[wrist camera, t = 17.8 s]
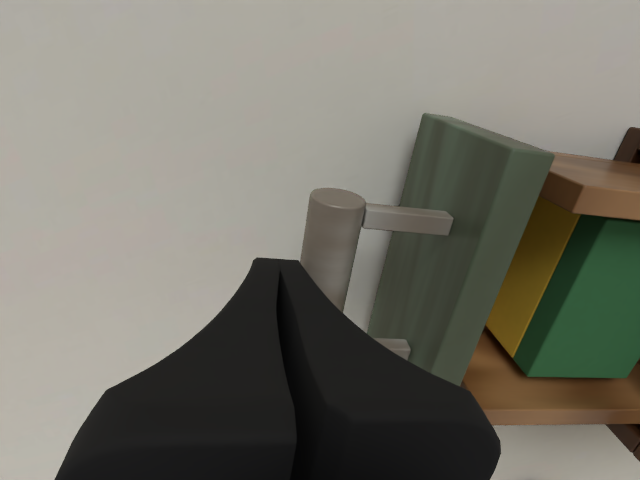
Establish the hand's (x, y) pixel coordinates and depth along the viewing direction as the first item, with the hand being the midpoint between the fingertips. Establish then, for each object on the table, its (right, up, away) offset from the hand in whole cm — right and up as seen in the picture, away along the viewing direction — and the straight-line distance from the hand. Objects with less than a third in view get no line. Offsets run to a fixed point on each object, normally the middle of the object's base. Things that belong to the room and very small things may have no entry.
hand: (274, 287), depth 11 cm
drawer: (+8, +1, +6) cm, 10 cm away
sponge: (+11, 0, +5) cm, 12 cm away
